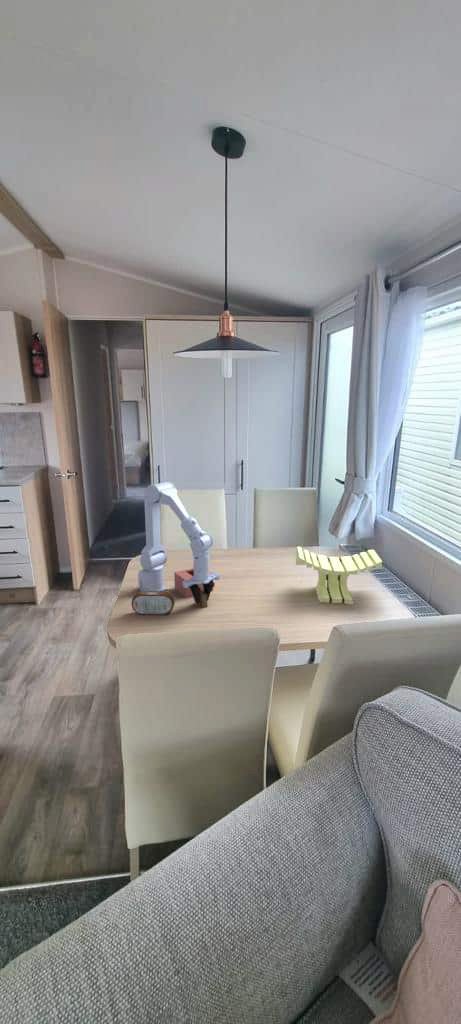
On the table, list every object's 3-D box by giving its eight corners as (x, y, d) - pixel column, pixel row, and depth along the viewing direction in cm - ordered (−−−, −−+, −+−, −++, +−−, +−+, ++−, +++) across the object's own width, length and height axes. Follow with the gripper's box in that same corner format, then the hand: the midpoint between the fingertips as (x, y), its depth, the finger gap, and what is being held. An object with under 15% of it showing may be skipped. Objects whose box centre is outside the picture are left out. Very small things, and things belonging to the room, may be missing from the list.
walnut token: (202, 608, 159) (202, 595, 158) (195, 602, 163) (195, 590, 162) (207, 606, 160) (207, 594, 159) (200, 601, 164) (200, 589, 163)
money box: (186, 597, 167) (186, 580, 165) (174, 588, 175) (174, 572, 173) (213, 590, 173) (213, 574, 172) (200, 582, 181) (200, 566, 180)
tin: (174, 611, 156) (174, 590, 154) (174, 615, 153) (173, 593, 151) (132, 611, 155) (131, 590, 153) (131, 615, 152) (130, 593, 150)
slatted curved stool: (367, 587, 179) (371, 547, 174) (377, 605, 163) (382, 561, 159) (294, 584, 181) (296, 543, 176) (297, 601, 165) (299, 557, 161)
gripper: (189, 574, 151) (189, 610, 154) (224, 566, 158) (223, 600, 162) (179, 568, 156) (180, 602, 160) (214, 560, 164) (213, 593, 167)
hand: (201, 601), depth 161 cm, fingers open, 3 cm apart
